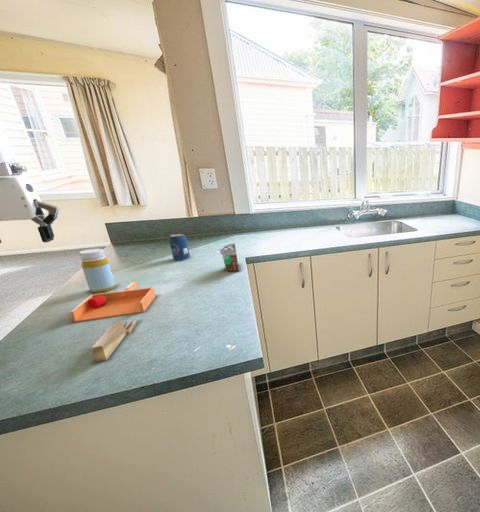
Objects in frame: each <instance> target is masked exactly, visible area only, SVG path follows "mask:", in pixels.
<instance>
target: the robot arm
mask: <svg viewBox="0 0 480 512" xmlns="http://www.w3.org/2000/svg"><path fill="white" fill-rule="evenodd" d="M27 172H28V168H27V166H25V165H20V164H19V162H17V158H16V155H15V152H14V150H13V147H12V144H11V141H10V138H9V136H8V133H7V131H6V128H5V125H4V122H3V120H2V119H1V118H0V222H9V221H27V220H31V221H32V222H34V223H35V224H37V225H38V227H37V231H38V233H39V236H40V239H41V242H42V243H50V242H51V241H54V240H55V239H54V238H55V234H54V231H53V228H52V225H53V224H54V221H55V220H56V219H58V215H59V212H60V207H59V206H56V205H53V204H50V203H46V202H43V201H42V200H41V198H40V195H39V194H38V192H37V189H36V187H35V186H34V184H33V183H32V182H31V180H30V178H29V177H28V176H23V173H27ZM46 211H47V212H48V214H47V215H46ZM45 215H46V216H45ZM1 243H2V240H1V239H0V244H1Z"/></svg>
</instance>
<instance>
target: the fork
mask: <svg viewBox="0 0 480 512" xmlns="http://www.w3.org/2000/svg"><path fill="white" fill-rule="evenodd" d="M137 324H138V320H133V322H131V321H128V322H127V323H126V322H123V321H117V322H112V324H111V325H110V326H109V327H108V328H107V330H105V332H104V333H103V334H102V335H101V336H100V337H99V339H97V341H96V342H95V343H94V344H93V346H92V347H91V350H92V353H93V357H94V360H95V362H97V363H99V362H103V361H107V360H108V359H109V358H110V356H111V355H112V353H113V352H114V351H115V349H116V348H117V347H118V346H119V344H120V343H121V342H122V340H123V339H124V338H125V337H126V335H128V334H131V333H132V330H133V329H134V328H135V326H136V325H137Z"/></svg>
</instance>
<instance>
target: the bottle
mask: <svg viewBox="0 0 480 512" xmlns="http://www.w3.org/2000/svg"><path fill="white" fill-rule="evenodd" d="M78 254H79V257H80V259H81V268H82V271H83V274H84V277H85V280H86V284H87V286H88V289H89V292H91V293H93V294H102V293H107V292H109V291H111V290H113V289H114V288H115V287H116V282H115V278H114V275H113V273H112V268H111V265H110V262H109V260H108V259H107V258H106V255H105V250H104V249H103V248H88V249H84V250H81V251H79V253H78Z"/></svg>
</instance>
